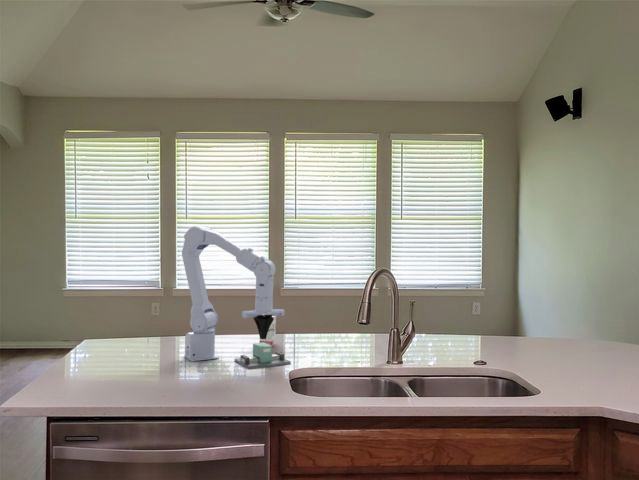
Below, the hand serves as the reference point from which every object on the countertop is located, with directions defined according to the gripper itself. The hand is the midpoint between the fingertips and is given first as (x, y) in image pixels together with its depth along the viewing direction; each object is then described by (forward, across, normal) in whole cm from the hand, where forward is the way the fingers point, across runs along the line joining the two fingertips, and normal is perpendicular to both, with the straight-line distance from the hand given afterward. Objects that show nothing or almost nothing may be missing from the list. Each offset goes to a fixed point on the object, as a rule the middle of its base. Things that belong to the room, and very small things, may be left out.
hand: (262, 338), depth 178 cm
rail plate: (+8, 0, 0) cm, 8 cm away
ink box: (+8, +13, +22) cm, 27 cm away
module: (+7, 0, 0) cm, 7 cm away
